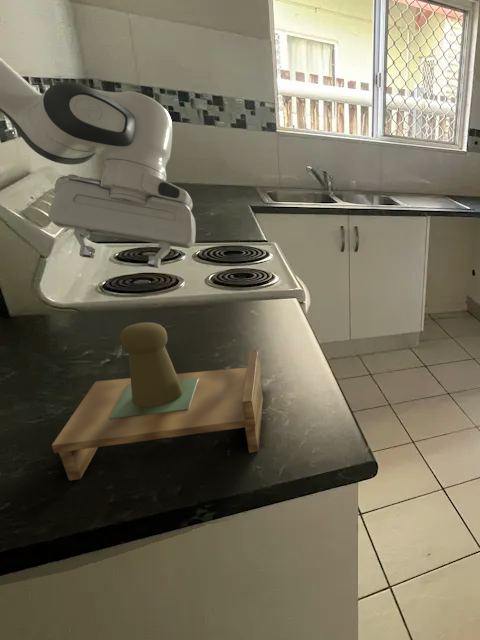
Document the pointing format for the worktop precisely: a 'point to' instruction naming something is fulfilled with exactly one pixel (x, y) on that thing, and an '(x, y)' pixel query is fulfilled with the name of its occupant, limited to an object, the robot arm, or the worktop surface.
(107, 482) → the worktop surface
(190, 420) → the shelf
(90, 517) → the worktop surface
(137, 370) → the cork
